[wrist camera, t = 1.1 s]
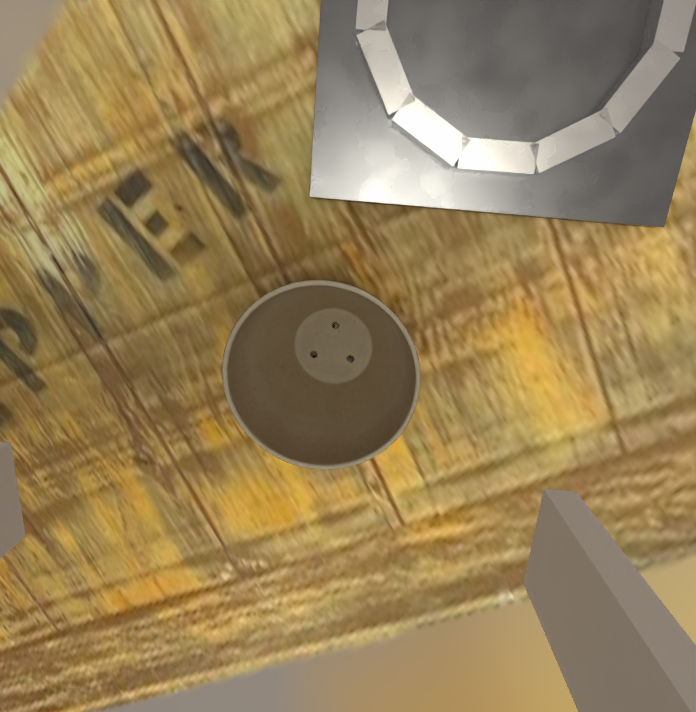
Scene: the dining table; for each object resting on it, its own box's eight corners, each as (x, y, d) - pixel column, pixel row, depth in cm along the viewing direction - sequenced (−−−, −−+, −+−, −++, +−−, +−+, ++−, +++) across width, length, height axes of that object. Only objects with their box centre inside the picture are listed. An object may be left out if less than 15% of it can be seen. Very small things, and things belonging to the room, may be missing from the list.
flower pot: (228, 326, 29) (181, 355, 22) (352, 235, 27) (343, 236, 20) (317, 442, 31) (299, 502, 24) (440, 365, 29) (459, 407, 22)
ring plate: (312, 197, 26) (306, 194, 24) (338, -247, 21) (334, -301, 19) (653, 227, 26) (678, 226, 24) (773, -227, 20) (819, -281, 18)
